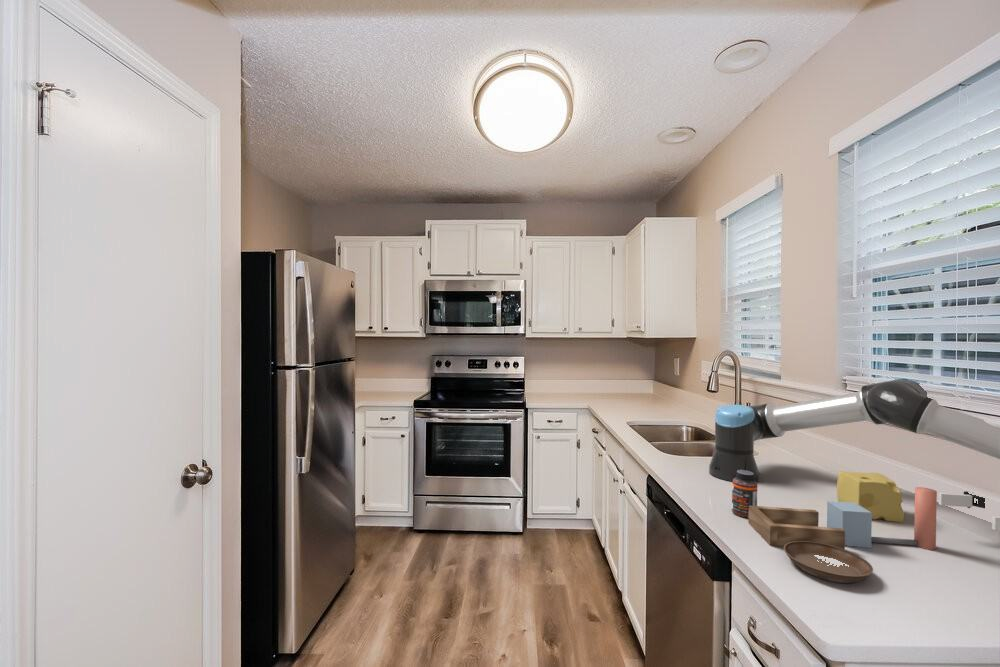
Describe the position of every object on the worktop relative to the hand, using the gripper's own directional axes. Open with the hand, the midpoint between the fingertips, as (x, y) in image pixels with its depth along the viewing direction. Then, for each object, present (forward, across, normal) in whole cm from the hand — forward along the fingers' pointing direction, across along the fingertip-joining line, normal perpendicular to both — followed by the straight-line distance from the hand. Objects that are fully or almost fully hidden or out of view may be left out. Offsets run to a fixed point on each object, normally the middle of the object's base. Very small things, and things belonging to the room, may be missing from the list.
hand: (964, 510), depth 101 cm
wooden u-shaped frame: (+35, 0, -9) cm, 36 cm away
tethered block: (+16, 0, -9) cm, 19 cm away
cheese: (+8, +19, -9) cm, 23 cm away
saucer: (+36, -15, -10) cm, 40 cm away
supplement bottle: (+42, +12, -10) cm, 45 cm away
